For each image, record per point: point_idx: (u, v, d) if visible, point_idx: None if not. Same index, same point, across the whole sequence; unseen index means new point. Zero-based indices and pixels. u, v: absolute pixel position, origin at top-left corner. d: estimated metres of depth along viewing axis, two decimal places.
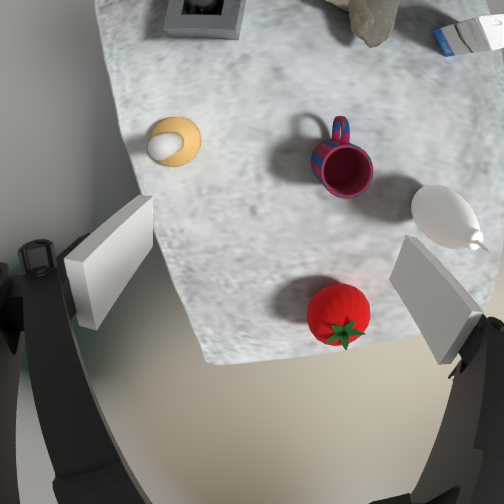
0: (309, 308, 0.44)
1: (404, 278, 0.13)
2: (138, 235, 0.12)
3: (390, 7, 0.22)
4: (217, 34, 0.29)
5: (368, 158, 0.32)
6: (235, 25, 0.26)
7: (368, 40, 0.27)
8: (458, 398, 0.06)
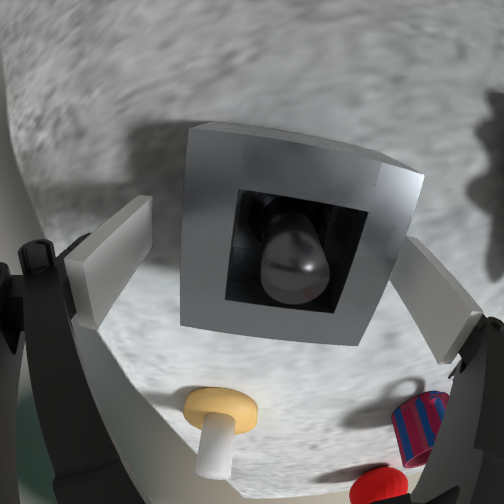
0: (353, 493, 0.32)
1: (404, 278, 0.13)
2: (138, 235, 0.12)
3: None
4: None
5: None
6: (360, 335, 0.14)
7: None
8: (458, 398, 0.06)
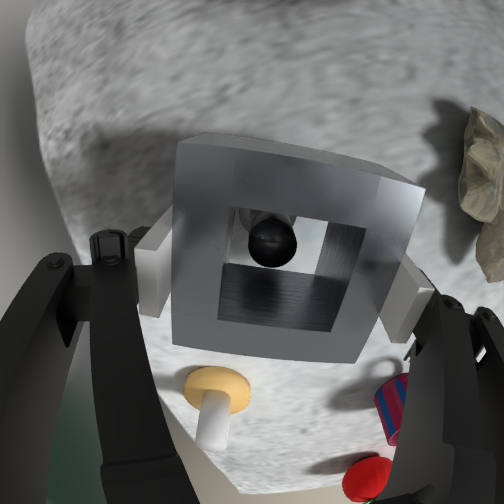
0: (346, 482, 0.35)
1: None
2: None
3: None
4: None
5: None
6: (357, 352, 0.13)
7: (492, 278, 0.19)
8: (418, 384, 0.07)
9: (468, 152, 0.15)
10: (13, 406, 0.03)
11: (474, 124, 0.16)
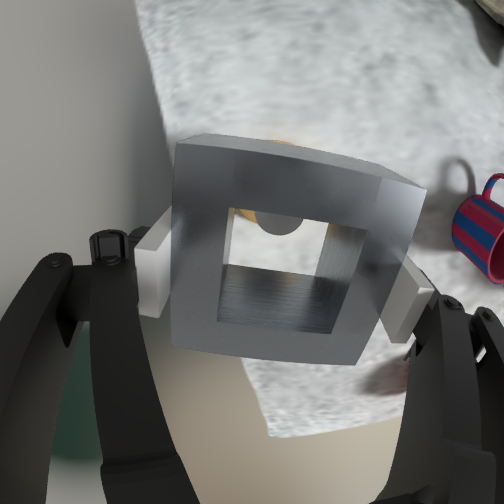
0: None
1: None
2: None
3: None
4: None
5: None
6: (358, 354, 0.13)
7: None
8: (418, 384, 0.07)
9: None
10: (13, 406, 0.03)
11: None
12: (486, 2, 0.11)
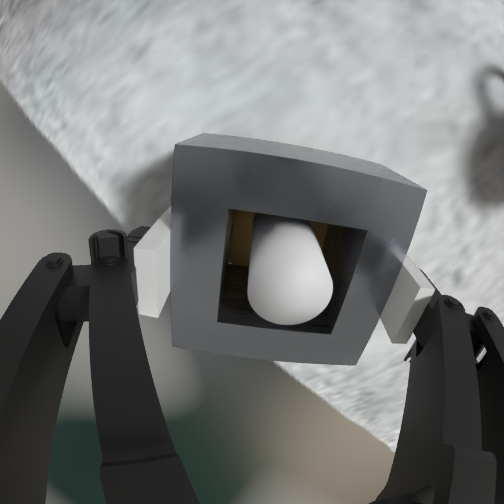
0: None
1: None
2: None
3: None
4: None
5: None
6: (358, 354, 0.13)
7: None
8: (418, 384, 0.07)
9: None
10: (13, 406, 0.03)
11: None
12: None
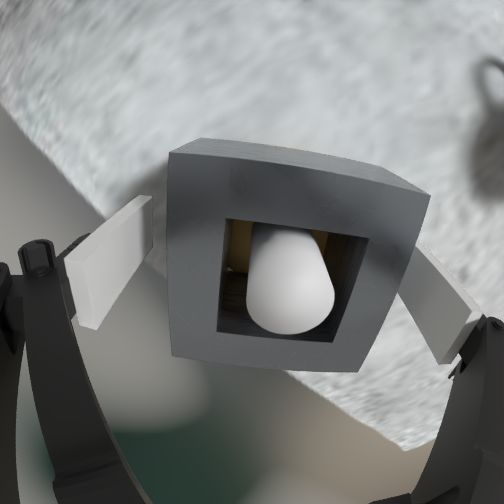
0: None
1: (404, 278, 0.13)
2: (138, 235, 0.12)
3: None
4: None
5: None
6: (360, 362, 0.13)
7: None
8: (458, 398, 0.06)
9: None
10: None
11: None
12: None
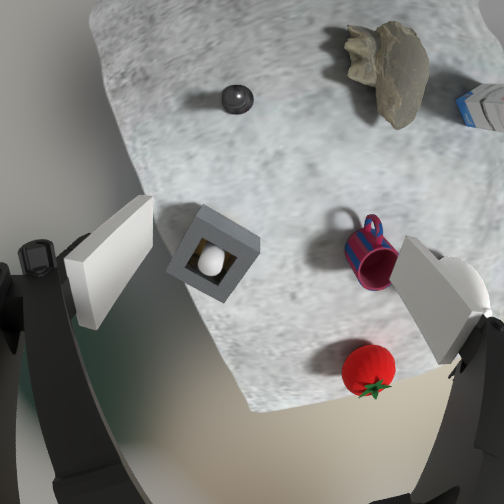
0: (344, 369, 0.48)
1: (404, 278, 0.13)
2: (138, 235, 0.12)
3: (418, 87, 0.26)
4: None
5: (398, 255, 0.35)
6: (225, 299, 0.39)
7: (395, 123, 0.31)
8: (458, 398, 0.06)
9: (344, 46, 0.28)
10: None
11: None
12: (354, 79, 0.30)
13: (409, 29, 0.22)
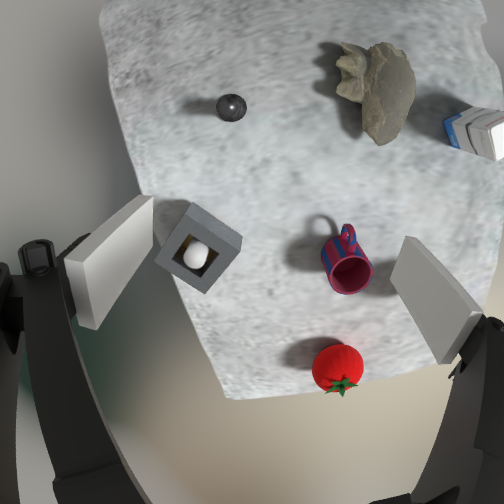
0: (314, 364, 0.52)
1: (404, 278, 0.13)
2: (138, 235, 0.12)
3: (402, 108, 0.30)
4: None
5: (369, 264, 0.40)
6: (206, 290, 0.43)
7: (377, 140, 0.34)
8: (458, 398, 0.06)
9: (336, 63, 0.31)
10: None
11: None
12: (342, 95, 0.33)
13: (400, 51, 0.25)
